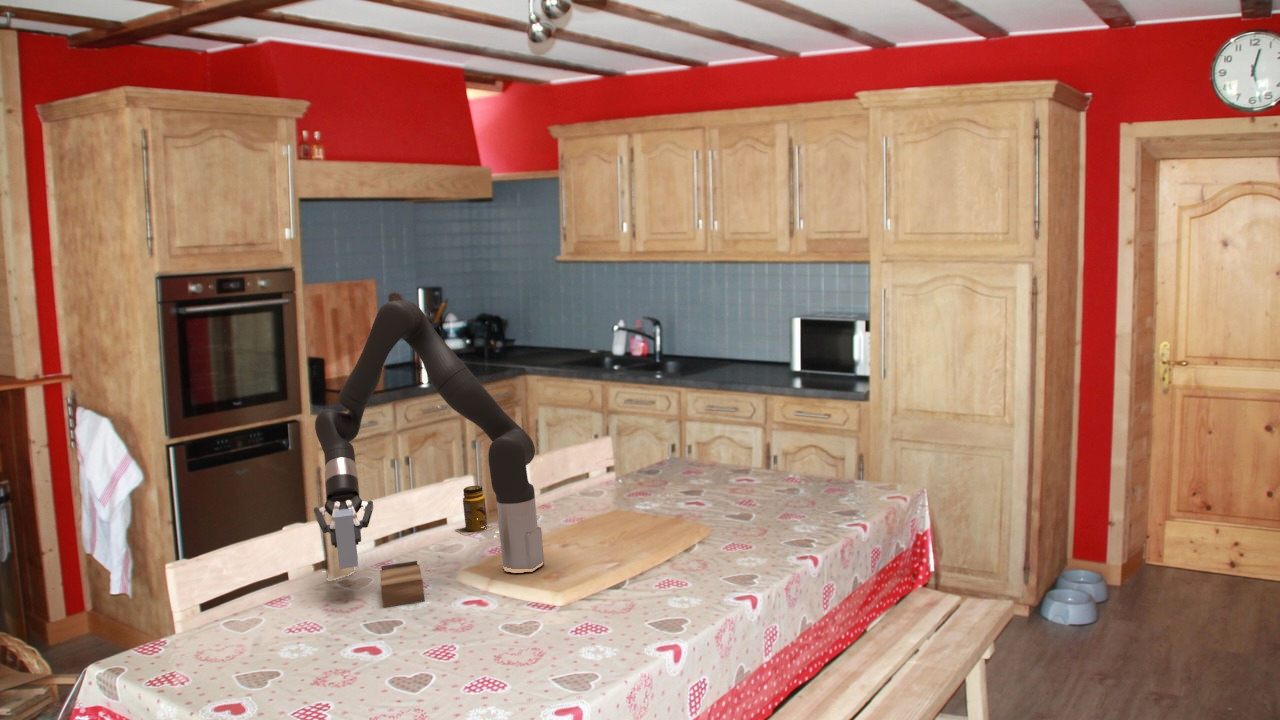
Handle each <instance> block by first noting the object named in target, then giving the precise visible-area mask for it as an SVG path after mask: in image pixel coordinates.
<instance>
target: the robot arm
mask: <svg viewBox="0 0 1280 720" xmlns="http://www.w3.org/2000/svg"><path fill="white" fill-rule="evenodd" d="M370 329H371V330H370V332H369V335H368V337H367V339H366V341H365V344H364V346H363V349H362V351H361V354H360V356H359V358H358V359H357V362H356V363H355V365H354V367H353V369H352V371H351V372H350V375H348V377H347V379H346V381H345V382H344V384H343V385H342V388H341V390H340V391H339V393H338V396H337V398H338V402H339V403H340V404H341V405H342V406H343V407H344V408H346V409H348V412H347V413H345V412H342V411H339V410H336V409H332V408H325V409H323V410H321V411H320V412H319V413H318V414H317V416H316V419H315V423H314V430H315V434H316V437H317V440H318V443H319V444H320V446H321V447H320V448H321V450H322V451H323V454H324V465H325V466H324V468H325V469H324V483H325V484H324V485H325V498H326V499H325V503H324V505H323V506H321V507H317V506H316V507H314V508H313V514H314V517H315V520H316V521H317V523H318V525H319V527H320V530H321V532H322V533H323V534H327V533H328V534H329V536H330V543H331V546H332V547H333V546H334V548H335V549H337V540H336V531H335V522H334V511H339V510H341V509H352V510H353V521H354V533H355V543H356V546H357V545H359V543H361V542H362V534H361V533H362V532H361V531H362V529H364V528H365V529H366V528H368V527H369V525H370V521H371V517H372V514H373V511H374V502H373V501H372V500H368V501H363V500H362V498H361V497H360V489H359V477H358V469H357V465H356V456H355V447H354V446H353V444H352V443H350V442H352V441H353V440H355V439H356V437H357V436H358V434H359V432H360V429H361V424H362V420H363V417H364V413H365V410H366V406H367V405H368V403H369V401H370V400H371V397H373V395H374V393H375V391H376V389H377V387H378V385H379V382H380V380H381V377H382V372H383V370H384V365H385V362H386V360H387V358H388V356H389V354H390V352H391V351H392V349H394V348H395V346H396V345H397V343H398V342H399V341H400V340H401V339H402V340H404V341H405V343H406V344H408V346H409V347H410V348H412V350H413V351H414V352H415V354H417V355H418V357H419V359H420V360H421V362H422V364H423V366H424V368H425V371H426V374H427V377H428V378H429V382H430V383H431V385H432V386H433V388H434V390H435V391H436V392H437V394H439V395H440V397H441V398H442V399H443V401H444V402H446V404H447V405H448V406H449V407H450V408H451V409H452V410H453V411H454V412H456V413H458V414H459V415H461V416H463V418H465V419H467V420H469V421H470V422H471V423H473V424H475V425H476V426H478V427H479V428H480V429H481V430H482V431H483V432H484V433H485V434H486V435H487V437H488V438H489V439H490V441H491V444H490V445H489V447H488V454H487V455H488V466H489V467H488V468H489V475H490V481H491V488H492V490H493V493H494V494H495V499H496V509H497V519H498V520H497V521H498V531H499V540H500V541H499V542H500V552H501V561H502V567H503V566H504V567H507V568H511V569H533V568H535V567H536V566H538V565H539V564H541V563H542V562H544V563H545V554H544V553H545V552H544V545H543V533H542V527H541V526H538V518H537V516H538V515H537V507H536V497H535V496H536V495H535V487H534V485H533V484H532V483H530V482H529V479H528V473H527V465H529V464H531V463H532V461H533V460H534V458H535V454H536V447H535V445H534V444H535V443H534V441H533V439H532V437H531V436H530V435H529V434H528V433H527V432H526V431H525V430H524V429H523V428H522V427H521V426H519V424H517V422H515V420H513V419H512V418H511V417H510V416H509V415H508V414H507V413H506V412H505V411H504V409H502V408H501V406H500V405H499V404H498V403H497V401H495V398H493V396H491V394H490V393H489V392H488V390H487V389H486V388H485V387H484V385H482V384H481V383H482V382H480V381H479V379H478V378H477V377H476V376H475V375H474V373H472V371H471V370H470V369H469V368H468V367H467V365H466V364H465V363H464V362H463V361H462V360H461V359H460V357H458V355H457V354H456V353H455V351H453V350H452V349H451V347H450V346H449V345H448V344H447V343H446V342H445V341H444V340H443V339H442V337H441V336H440V335H439V334H438V332H437V331H436V329H435V328H434V326H433V325H432V324H431V322H430V320H429V319H428V317H427V315H425V313H424V311H423V310H422V309H421V308H420V307H419V306H418V305H417V304H416V303H415V302H412V301H410V300H406V299H404V300H403V299H402V300H399V299H398V300H393V301H387V302H385V303H384V304H383V305H382V306H380V307H379V309H378V311H377V312H376V316H375V318H374V320H373V324H372V326H371V328H370ZM362 508H363V512H364V513H363V517H362V519H361V520H360V519H359V517H358V513H359V511H360V510H361V509H362ZM325 513H327V514H329V516H330V517H331V520H330V524H328V523H327V522H326V520H325V518H324V517H325V516H326V515H325Z"/></svg>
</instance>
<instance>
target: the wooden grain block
mask: <svg viewBox="0 0 1280 720" xmlns="http://www.w3.org/2000/svg"><path fill="white" fill-rule="evenodd" d="M380 567H381V569H380V570H379V574H380V575H379V576H380V588H381V596H382V604H383V605H382V606H383V608H390V607H395V606H401V605H407V604H412V603H419V602H425V592H424V583H423V576H422V571H421V568H420V564H419V563H418V560H413V561H405V562H400V563H399V562H398V563H393V564H386V565H381V566H380Z"/></svg>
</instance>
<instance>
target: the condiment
mask: <svg viewBox="0 0 1280 720" xmlns="http://www.w3.org/2000/svg"><path fill="white" fill-rule="evenodd" d="M462 491H463V498H462V504H463V513H464V524H465V527H461V528H456V529H454V531H455V532H458V533H459V534H462V535H463V536H468V535H472V534H475V533H481V532H485V531H489V530H493V529H494V528H492V527H491V528H487V527H489V526H488V518H487V509H486V497H485V495H484V491H483V486H481V485H471V486H470V485H469V486H466V487H464V488H463V490H462ZM477 518H478V520H477ZM486 525H487V526H486ZM483 526H485V527H484V528H481V527H483ZM485 528H486V529H485Z"/></svg>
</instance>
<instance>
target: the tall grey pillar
mask: <svg viewBox="0 0 1280 720" xmlns="http://www.w3.org/2000/svg"><path fill="white" fill-rule="evenodd" d="M334 522H335V531H336V540H337V548H336V549H337V558H338V559H337V560H338V564H339V565H338V566H339V570H343V569H349V568H356V567H359V566H358V564H359V562H358V561H359V557H358V548H357V545H356V543H355V533H354V521H353V510H352V509H341V510H339V511H334Z"/></svg>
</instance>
